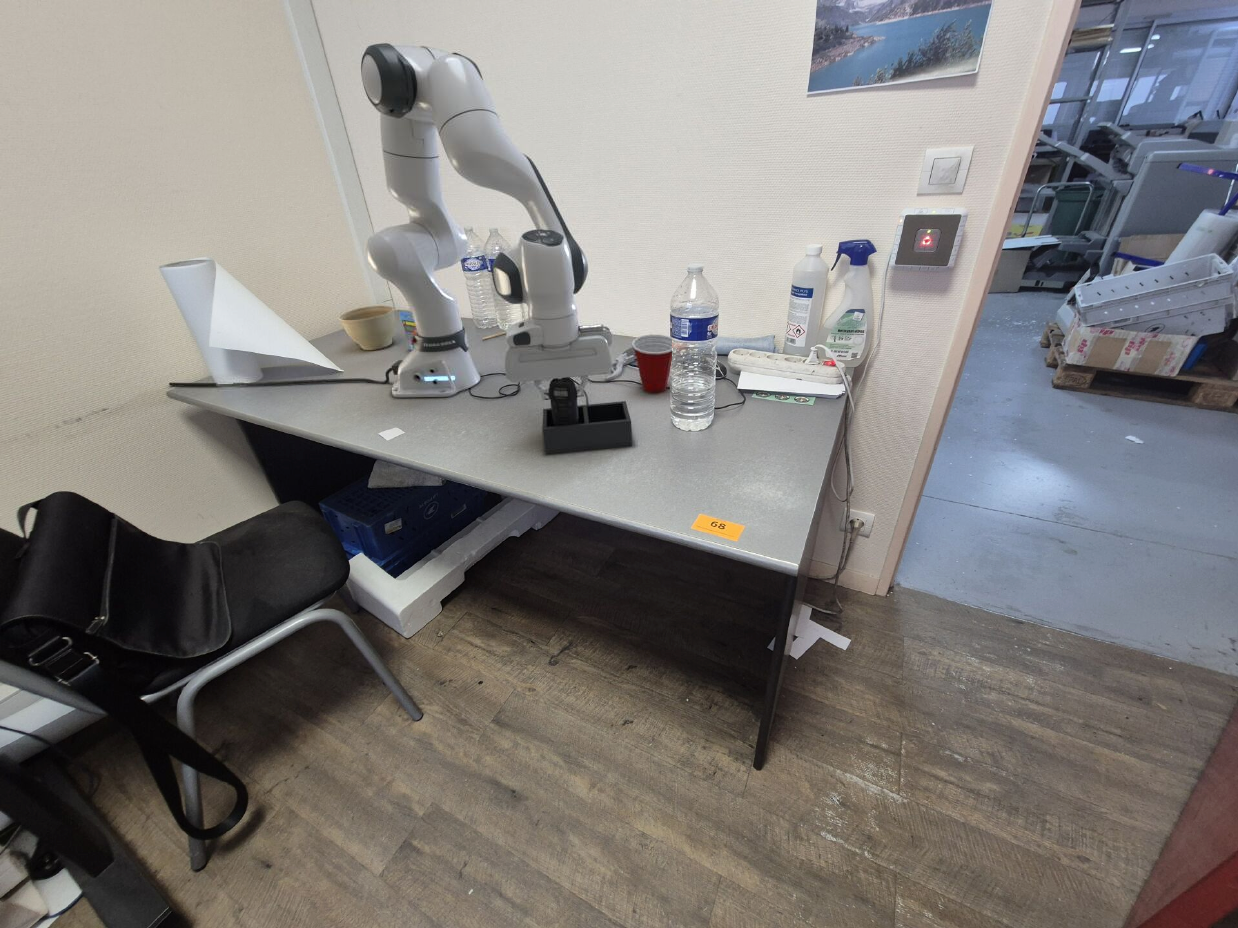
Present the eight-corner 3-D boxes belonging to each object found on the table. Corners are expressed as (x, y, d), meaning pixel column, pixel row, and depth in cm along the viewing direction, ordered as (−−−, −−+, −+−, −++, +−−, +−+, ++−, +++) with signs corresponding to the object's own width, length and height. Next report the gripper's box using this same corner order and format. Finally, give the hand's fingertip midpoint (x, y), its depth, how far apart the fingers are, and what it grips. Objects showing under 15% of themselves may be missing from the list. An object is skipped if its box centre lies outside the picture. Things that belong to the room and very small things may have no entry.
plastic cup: (647, 401, 118) (646, 353, 112) (625, 386, 126) (623, 339, 120) (685, 391, 122) (686, 343, 116) (662, 376, 130) (662, 331, 124)
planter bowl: (384, 334, 174) (375, 303, 168) (412, 342, 165) (403, 308, 160) (340, 349, 163) (328, 315, 157) (367, 357, 155) (356, 322, 149)
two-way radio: (551, 429, 101) (542, 357, 93) (556, 418, 105) (548, 349, 97) (577, 430, 100) (571, 358, 92) (582, 420, 104) (576, 350, 96)
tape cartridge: (438, 350, 157) (427, 310, 150) (428, 354, 154) (417, 314, 148) (419, 346, 161) (408, 307, 155) (409, 350, 159) (398, 311, 152)
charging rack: (632, 446, 101) (631, 420, 98) (546, 454, 100) (542, 429, 97) (626, 425, 109) (625, 400, 106) (546, 433, 108) (543, 408, 105)
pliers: (580, 367, 134) (616, 350, 144) (580, 373, 135) (617, 356, 145) (607, 375, 129) (643, 357, 138) (608, 381, 130) (643, 363, 139)
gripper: (609, 318, 95) (613, 385, 102) (500, 328, 94) (513, 395, 101) (612, 328, 90) (617, 399, 97) (497, 338, 88) (510, 409, 96)
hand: (563, 397), depth 99 cm, fingers closed on two-way radio, 5 cm apart
